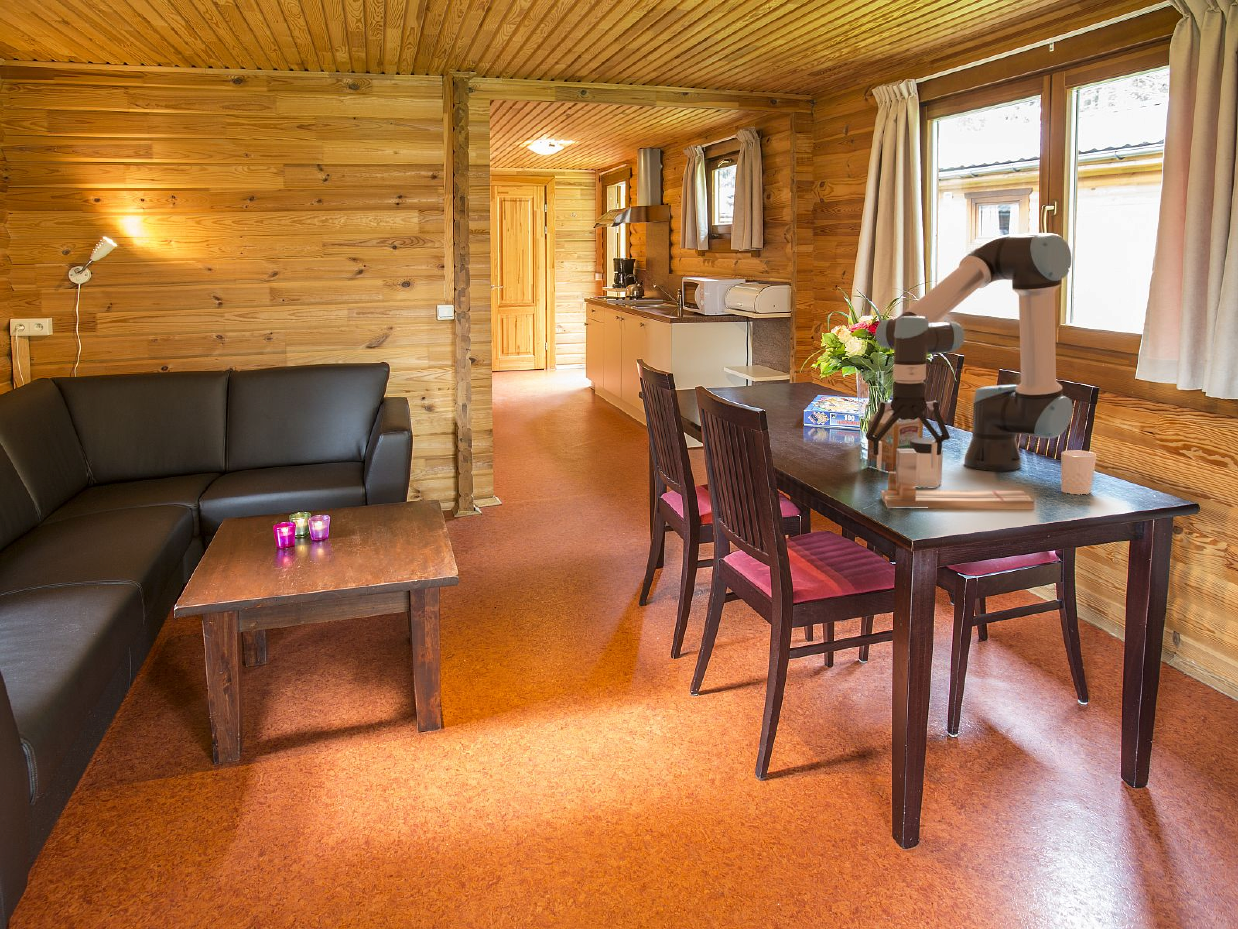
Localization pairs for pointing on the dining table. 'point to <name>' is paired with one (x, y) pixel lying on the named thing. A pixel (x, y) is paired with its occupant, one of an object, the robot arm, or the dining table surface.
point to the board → (961, 499)
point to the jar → (926, 463)
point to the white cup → (1077, 471)
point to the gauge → (904, 474)
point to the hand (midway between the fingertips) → (906, 468)
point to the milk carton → (893, 440)
